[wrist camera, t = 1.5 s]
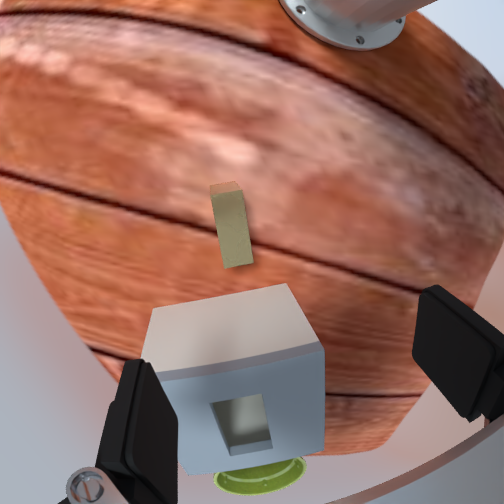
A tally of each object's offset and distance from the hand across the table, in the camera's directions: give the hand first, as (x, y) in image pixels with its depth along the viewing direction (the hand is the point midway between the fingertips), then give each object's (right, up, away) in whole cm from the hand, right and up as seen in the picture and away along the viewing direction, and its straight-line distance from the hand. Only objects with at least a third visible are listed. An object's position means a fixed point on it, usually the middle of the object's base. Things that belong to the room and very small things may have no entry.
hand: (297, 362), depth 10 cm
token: (-3, +7, +15) cm, 17 cm away
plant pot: (-2, -16, +24) cm, 28 cm away
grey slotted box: (-3, -6, +20) cm, 21 cm away
